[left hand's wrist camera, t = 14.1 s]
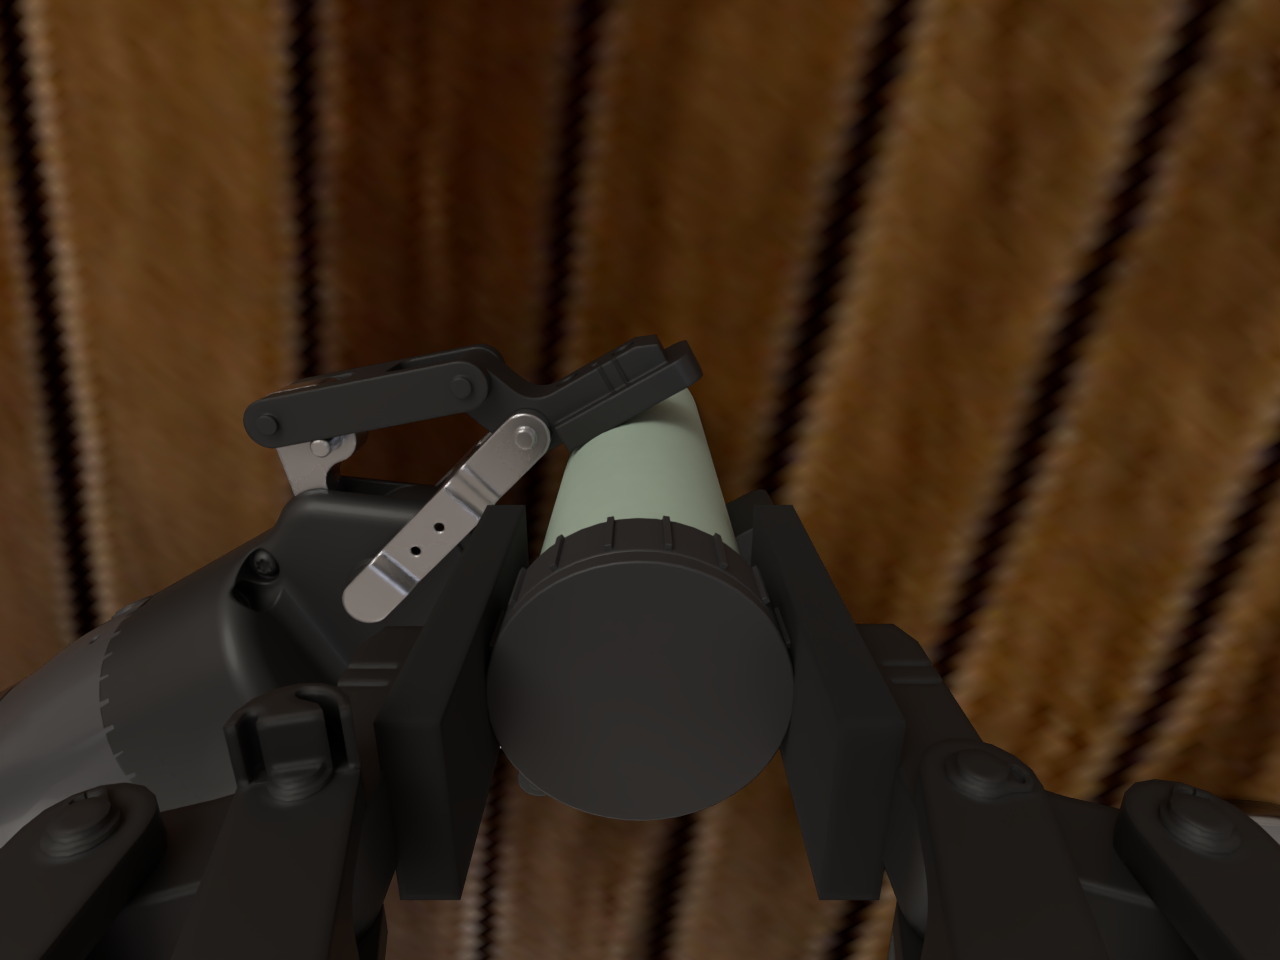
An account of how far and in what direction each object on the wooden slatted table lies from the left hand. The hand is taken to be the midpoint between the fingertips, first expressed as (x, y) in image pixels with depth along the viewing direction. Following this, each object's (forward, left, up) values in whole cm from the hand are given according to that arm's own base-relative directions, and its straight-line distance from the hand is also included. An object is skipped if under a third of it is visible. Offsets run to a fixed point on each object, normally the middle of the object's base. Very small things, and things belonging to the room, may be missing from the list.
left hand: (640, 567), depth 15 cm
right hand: (+2, -2, -5) cm, 5 cm away
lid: (0, 0, +4) cm, 4 cm away
